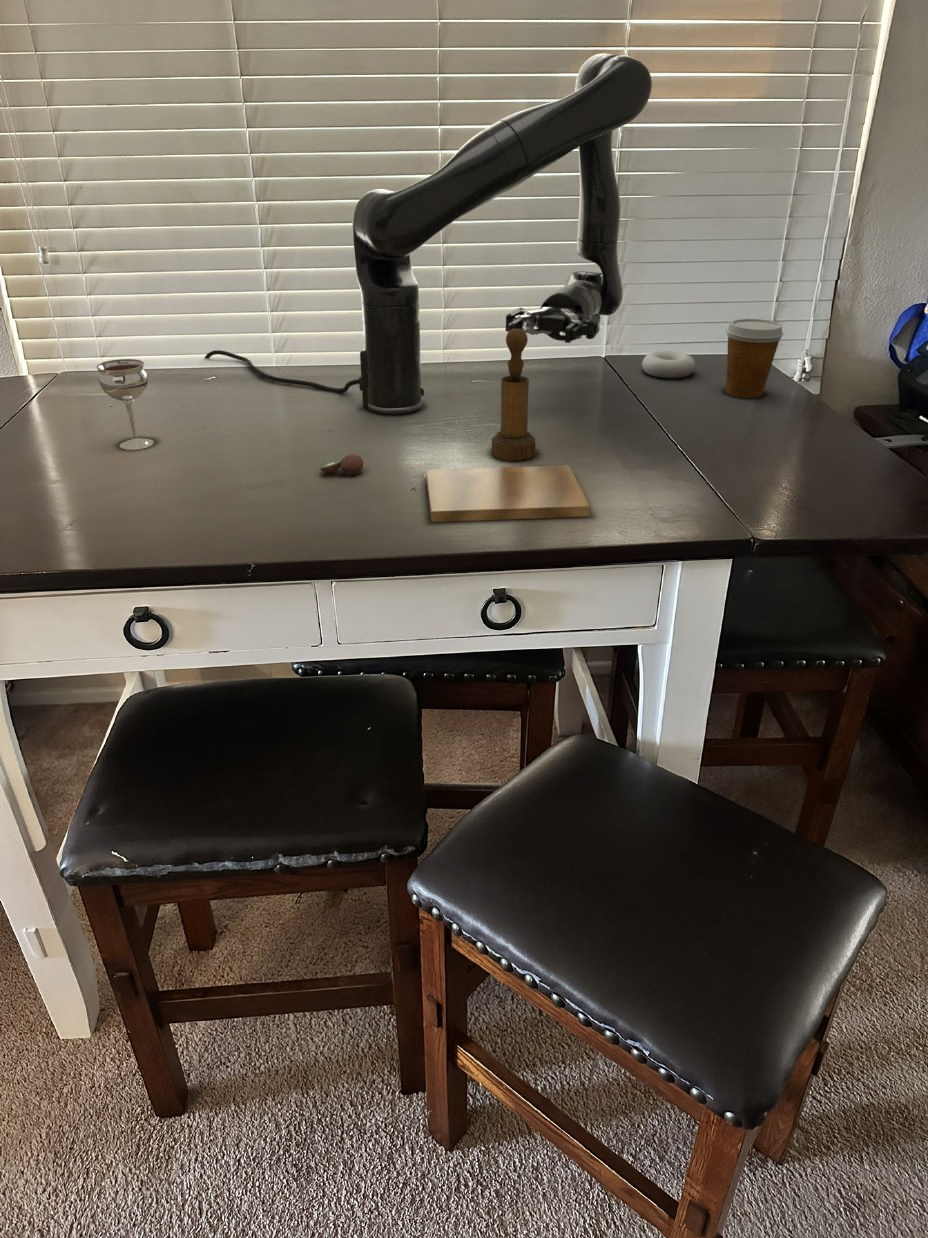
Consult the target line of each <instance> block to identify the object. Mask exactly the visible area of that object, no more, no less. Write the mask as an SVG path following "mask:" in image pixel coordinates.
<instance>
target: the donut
mask: <svg viewBox="0 0 928 1238" xmlns="http://www.w3.org/2000/svg"><path fill="white" fill-rule="evenodd" d="M641 366H642V368H643V371H644V372H645V373H646V374H647V375H649V376H652V377H656V378H661V379H681V378H686V377H689V376H691V374H693V372H694V370H695V368H696V361H695V359H694V357H692V355H689V354H688V353H684V352H680V351H675V350H674V351H673V350H659V351H653V352H650V353H648V354H646V355H645V357H644V358H643V360H642V362H641Z"/></svg>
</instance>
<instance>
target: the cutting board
mask: <svg viewBox="0 0 928 1238" xmlns="http://www.w3.org/2000/svg"><path fill="white" fill-rule="evenodd" d="M425 480H426V489H427V498H428V505H429V513H430V514H429V515H430V521H431V523H447V522H449V523H450V522H478V521H503V520H504V521H505V520H507V521H508V520H532V519H534V520H535V519H558V518H559V519H560V518H561V519H562V518H587V517H588V518H589V517H590V509H591V505H590V503H589V502H588V500H587V497H586V496H585V493H584V491H583V490H582V488H581V486H580V484H579V482H578V480H577V478H576V476H575V474H574V472H573V470H572V468H571V466H570V465H568V464H567V465H541V466H540V465H537V466H536V465H535V466H507V467H506V466H505V467H504V466H503V467H502V466H501V467H475V468H474V467H473V468H439V469H438V468H437V469H436V468H435V469H426V470H425Z"/></svg>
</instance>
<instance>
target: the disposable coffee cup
mask: <svg viewBox="0 0 928 1238" xmlns="http://www.w3.org/2000/svg"><path fill="white" fill-rule="evenodd" d="M725 332H726V336H727V355H726V362H727V363H726V382H725V383H726V384H725V393H726V394H727V395H729V396H732V397H736V398H741V399H742V398H743V399H756V398H759V397H760V398H761V397H762V396H763V393H764V390H765V387H766V385H767V382H768V377H769V374H770V371H771V369H772V365H773V362H774V359H775V356H776V353H777V349H778V346H779V342H780V340H781V339H782V337H783V336H784V331H783V324H781V323H779V322H777V321H773V320H769V319H761V318H737V319H733V320H731V321H730V322H729V326H728V327H727V328H726V329H725Z"/></svg>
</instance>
